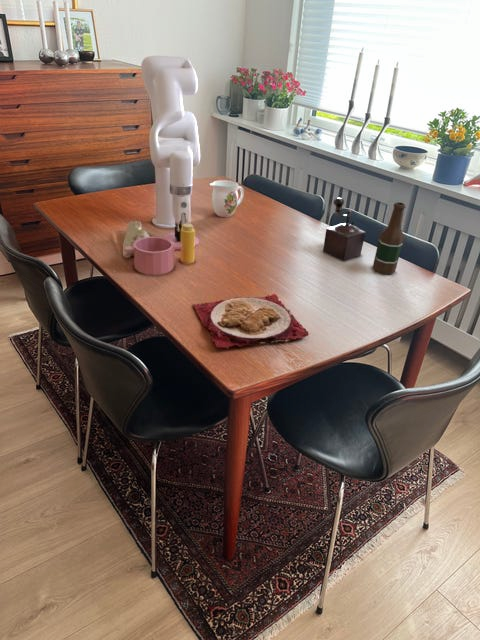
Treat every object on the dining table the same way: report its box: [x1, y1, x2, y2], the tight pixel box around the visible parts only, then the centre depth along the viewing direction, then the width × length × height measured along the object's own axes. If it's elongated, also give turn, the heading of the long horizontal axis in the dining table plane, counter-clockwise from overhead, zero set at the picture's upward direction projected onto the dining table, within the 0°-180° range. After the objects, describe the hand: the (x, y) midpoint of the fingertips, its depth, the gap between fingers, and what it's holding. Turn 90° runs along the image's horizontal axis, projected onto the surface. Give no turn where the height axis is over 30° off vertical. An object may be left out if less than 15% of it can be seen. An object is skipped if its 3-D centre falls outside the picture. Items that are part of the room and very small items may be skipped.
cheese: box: [122, 220, 151, 259], centre depth 168 cm, size 15×7×15 cm
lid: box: [161, 228, 200, 248], centre depth 175 cm, size 14×14×6 cm
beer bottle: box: [372, 201, 406, 276], centre depth 164 cm, size 8×8×24 cm
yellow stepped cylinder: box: [179, 222, 196, 264], centre depth 162 cm, size 5×5×13 cm
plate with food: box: [192, 293, 310, 349], centre depth 134 cm, size 24×26×4 cm
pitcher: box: [209, 179, 245, 218], centre depth 204 cm, size 11×18×14 cm, turn 130°
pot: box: [125, 236, 182, 276], centre depth 158 cm, size 13×18×8 cm
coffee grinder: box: [322, 197, 366, 262], centre depth 178 cm, size 16×11×18 cm
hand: (180, 238), depth 176 cm, fingers closed on lid, 2 cm apart
